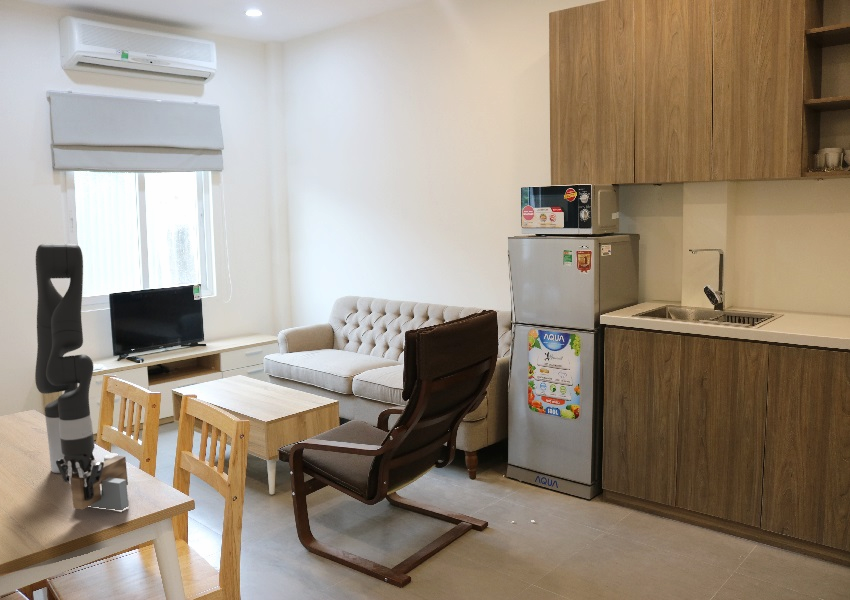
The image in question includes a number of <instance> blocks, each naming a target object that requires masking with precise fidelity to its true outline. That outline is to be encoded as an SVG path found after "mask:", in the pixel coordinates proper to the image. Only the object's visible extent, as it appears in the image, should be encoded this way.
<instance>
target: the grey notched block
mask: <svg viewBox="0 0 850 600" xmlns="http://www.w3.org/2000/svg"><path fill="white" fill-rule="evenodd" d="M127 486H128V485H127V484H126V480H125V479H118V478H111V477H109V478H107V479H105V480H103V481H102V486H101V488H102V487H103V491H102V489H100V492H101V500H99V501H97V502H95V503H93V504H92V505H90V506H91V507H99V508H106V509H115V510H123V509H124V508H126V507H128V506H129V497H128V496H129V495H128V487H127Z"/></svg>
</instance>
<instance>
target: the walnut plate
mask: <svg viewBox="0 0 850 600" xmlns="http://www.w3.org/2000/svg"><path fill="white" fill-rule="evenodd" d="M102 462H103V463H104V466H103V470H102V473H101V477H100V480H99V482H97V483H95V484H93V491H94V496H93V498H92V499H90V500H85V499H84V489H83V487H84V486H83V482H82V479H81V478H80V477H79V474H78V475H76V476H74V477H71V478H70V480H71V485H70V489H71V495H72V496H71V498H72V506H73V507H72V508H73V509H78V510H84V509H85V508H89V507H88V506H90V505H92V504H93V503H95V502H97V501H99V500H101V492H100V490H102V491H103V487H102V481H103V480H105V479H107V478H109V477H111V478H118V479H125V480H126V484H127V486H128V485H129V481H128V469H127V459H126V456H123V455H122V456H121V455H119V456H115V457H113V458H111V459H109V460H106V461H104V460H103V461H102ZM87 472H88V471H87ZM87 472H85V473H87ZM85 473H84V474H85ZM88 480H89V479H88V477H87V481H88Z"/></svg>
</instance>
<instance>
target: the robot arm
mask: <svg viewBox="0 0 850 600" xmlns="http://www.w3.org/2000/svg"><path fill="white" fill-rule="evenodd" d="M83 257H84V255H83V252H82V248H81V247H80V246H79V245H78V244H76V243H75V244H74V243H42V244H39V245H38V246H37V248H36V251H35V273H36V290H37V305H36V306H37V309H36V310H37V311H36V339H37V351H36V362H35V363H36V364H35V373H34V374H35V377H34V379H35V380H34V381H35V386H36V389H37V390H38V392H39V393H41V394H43V395H44V394H46V395H47V394H54V393H59V392H63V393H62V394H60V395H59V396H58V398H56V399H54V400H53V401H51V402H49V403H47V404H45V407H44V416H45V423H46V424H45V425H46V434H47V443H48V452H49V462H50V470H51V471H50V472H51V473H55V474H60V475H61V478H62V480H63V482H64V483H66V482H68V483H69V485H70V486H71V480H70V478H71V477H74V476H76V475H78V474H79V477H80V478H81V479H82V482H83V486H84V487H83V489H84V499H85V500H90V499H92V498H93V496H94V491H93V484H95V483H97V482H99V480H100V477H101V473H102V470H103V466H104V463H103V462H104V461H100V462H98V461H97V460H95V456H94V455H93V452H94V450H95V439H94V437H95V436H94V429H93V428H94V427H93V420H92V417H91V416H92V415H91V409H90V397H89V396H90V386H91V381H92V378H93V372H94V363H93V360H92V358H91V357H90V356H88V355H87V354H75V355H66V354H67V353H71V352H73V351H77V350H78V349H80V348H81V347H83V344H84V336H83V324H82V323H83V322H82V304H83V302H82V301H83V289H84V288H83V286H84V282H83V281H84V259H83ZM52 279H69V285H68V288H67V290H66V292H65V294H64V295H63V296H62V295H61V293H60V292H58V290H57V289H56V287H55V286H54V284H53V283H52ZM65 355H66V356H65ZM87 471H88V472H87ZM85 472H87V473H85ZM84 473H85V474H84ZM87 477H88V479H89V480H88V481H87Z"/></svg>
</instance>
